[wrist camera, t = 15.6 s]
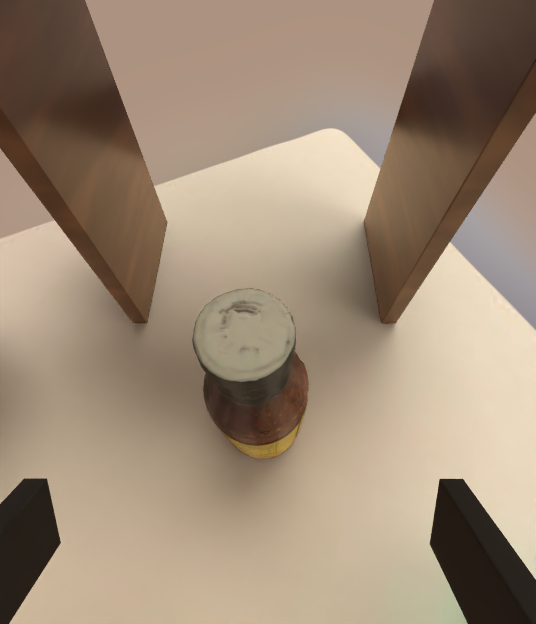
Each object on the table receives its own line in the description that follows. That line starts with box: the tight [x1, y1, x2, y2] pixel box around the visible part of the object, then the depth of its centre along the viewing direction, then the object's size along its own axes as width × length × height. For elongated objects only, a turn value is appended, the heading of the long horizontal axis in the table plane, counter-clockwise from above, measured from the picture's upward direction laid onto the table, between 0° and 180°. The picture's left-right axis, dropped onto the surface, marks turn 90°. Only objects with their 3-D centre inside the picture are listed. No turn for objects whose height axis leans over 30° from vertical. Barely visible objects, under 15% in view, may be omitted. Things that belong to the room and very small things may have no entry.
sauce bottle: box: [192, 289, 309, 458], centre depth 22 cm, size 6×6×20 cm
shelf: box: [0, 0, 536, 323], centre depth 25 cm, size 27×14×32 cm, turn 90°
